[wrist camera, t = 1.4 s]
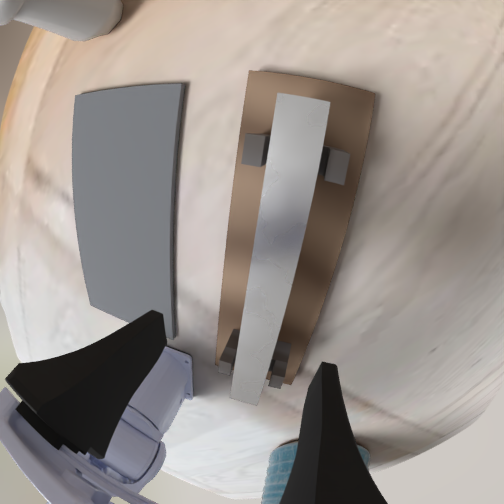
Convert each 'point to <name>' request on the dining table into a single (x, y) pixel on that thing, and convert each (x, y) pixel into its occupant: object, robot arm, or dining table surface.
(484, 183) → the dining table surface
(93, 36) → the salt shaker
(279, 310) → the rail
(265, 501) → the vase
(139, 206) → the mat
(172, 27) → the dining table surface
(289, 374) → the rack
